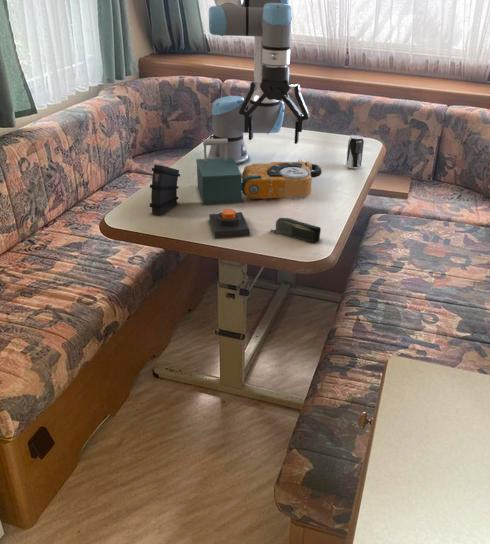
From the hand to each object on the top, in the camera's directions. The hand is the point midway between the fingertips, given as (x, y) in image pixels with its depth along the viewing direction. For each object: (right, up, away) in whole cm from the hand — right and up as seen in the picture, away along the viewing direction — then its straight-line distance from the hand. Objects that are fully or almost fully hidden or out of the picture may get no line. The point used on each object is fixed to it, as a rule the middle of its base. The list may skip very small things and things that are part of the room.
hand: (273, 140), depth 169 cm
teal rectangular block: (-19, -13, +24) cm, 33 cm away
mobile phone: (+6, -29, -1) cm, 29 cm away
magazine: (-34, -18, +14) cm, 41 cm away
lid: (-19, -5, +20) cm, 28 cm away
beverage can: (+30, +2, +53) cm, 61 cm away
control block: (-13, -26, +3) cm, 29 cm away
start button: (-13, -22, +1) cm, 26 cm away
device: (+2, -10, +32) cm, 33 cm away
